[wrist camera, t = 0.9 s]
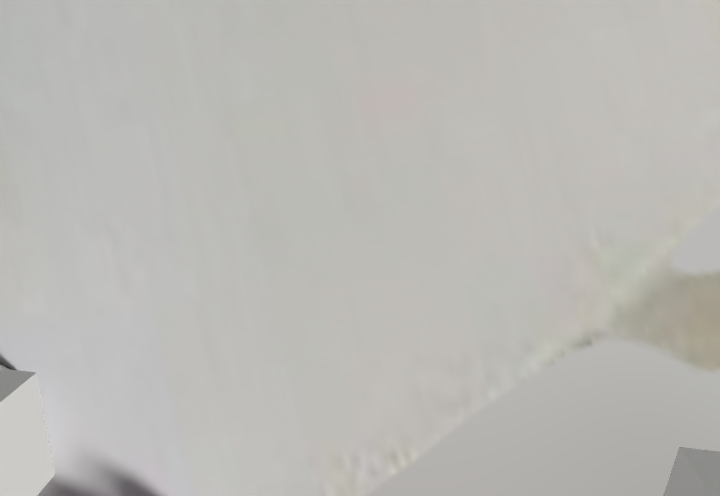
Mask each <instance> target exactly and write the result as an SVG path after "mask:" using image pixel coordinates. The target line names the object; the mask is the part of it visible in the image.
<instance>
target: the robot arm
mask: <svg viewBox="0 0 720 496" xmlns="http://www.w3.org/2000/svg"><path fill="white" fill-rule="evenodd" d="M54 475H55V469H54V464H53V458H52V453H51V448H50V442H49V437H48V432H47V427H46V421H45V416H44V411H43V406H42V400H41V395H40V390H39V384H38V379H37V374H36V373H35V372H26V371H17V370H9V369H2V370H1V371H0V496H37V495H38V494H39V493H40V492H41V490H42V489H43V488H44V487H45V486H46V485H47V484H48V482H49V481H50V480H51V479H52V478H53V477H54ZM664 496H720V452H717V451H709V450H700V449H692V448H683V447H679V450H678V453H677V456H676V459H675V462H674V465H673V468H672V471H671V474H670V478H669V481H668V484H667V487H666V490H665V493H664Z"/></svg>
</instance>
